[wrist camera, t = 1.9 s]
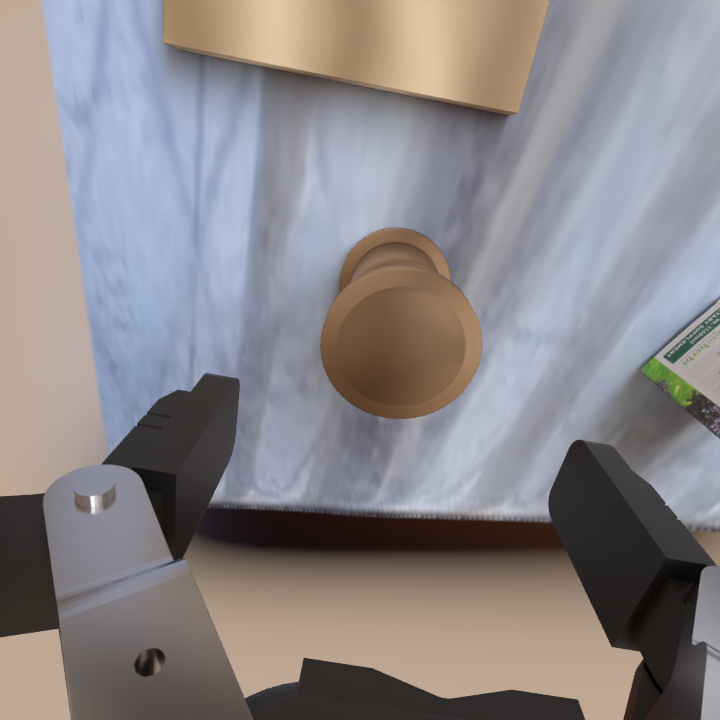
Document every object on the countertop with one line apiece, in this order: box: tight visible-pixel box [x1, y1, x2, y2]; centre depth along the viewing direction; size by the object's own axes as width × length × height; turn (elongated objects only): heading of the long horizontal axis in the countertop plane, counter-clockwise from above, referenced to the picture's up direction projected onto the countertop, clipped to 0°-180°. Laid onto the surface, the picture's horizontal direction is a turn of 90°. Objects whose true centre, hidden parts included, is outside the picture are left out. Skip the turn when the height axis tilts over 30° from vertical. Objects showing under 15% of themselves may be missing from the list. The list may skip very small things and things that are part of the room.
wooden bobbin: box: [321, 228, 482, 419], centre depth 20 cm, size 6×6×9 cm
